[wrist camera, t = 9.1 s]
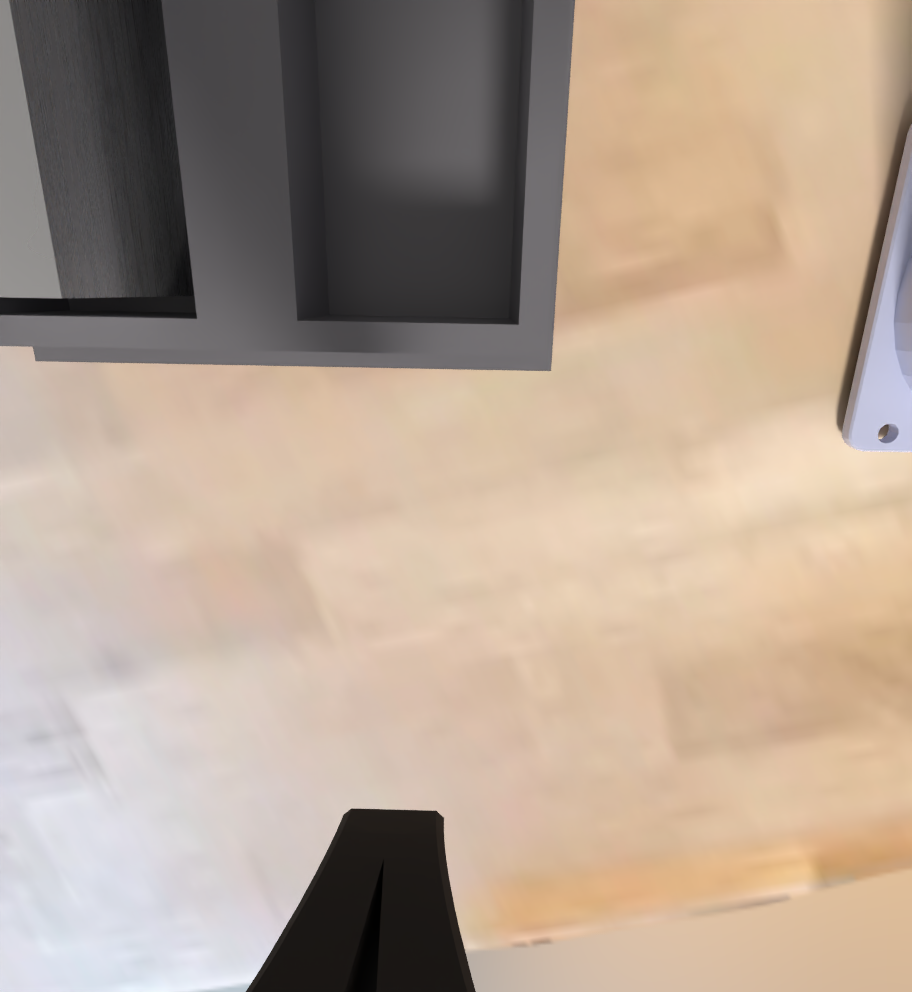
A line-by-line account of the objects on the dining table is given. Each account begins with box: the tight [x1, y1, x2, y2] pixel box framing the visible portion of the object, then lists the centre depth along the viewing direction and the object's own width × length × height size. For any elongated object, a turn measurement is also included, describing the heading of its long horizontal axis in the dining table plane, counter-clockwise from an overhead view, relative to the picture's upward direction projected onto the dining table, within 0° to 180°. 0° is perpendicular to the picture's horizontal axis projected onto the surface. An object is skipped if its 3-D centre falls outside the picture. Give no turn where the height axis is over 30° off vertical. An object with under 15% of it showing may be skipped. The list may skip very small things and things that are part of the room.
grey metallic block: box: [0, 0, 194, 298], centre depth 11 cm, size 3×8×6 cm, turn 179°
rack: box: [0, 0, 575, 371], centre depth 13 cm, size 13×12×4 cm
